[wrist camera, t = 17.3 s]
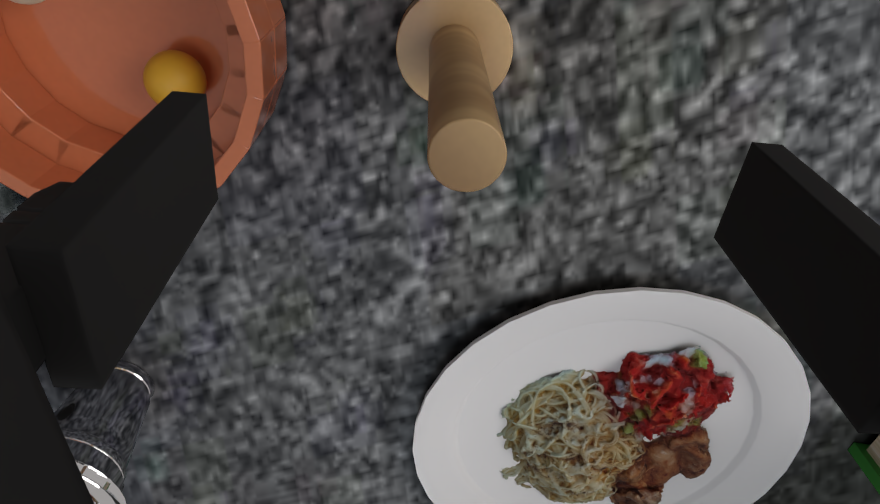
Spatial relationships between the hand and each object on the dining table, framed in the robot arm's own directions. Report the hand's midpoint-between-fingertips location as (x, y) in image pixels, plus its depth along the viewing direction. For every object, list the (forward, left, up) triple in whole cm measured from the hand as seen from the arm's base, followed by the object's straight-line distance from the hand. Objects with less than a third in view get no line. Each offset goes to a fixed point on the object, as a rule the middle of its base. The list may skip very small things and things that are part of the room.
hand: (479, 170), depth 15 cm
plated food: (+30, +15, -20) cm, 39 cm away
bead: (+4, -14, -18) cm, 23 cm away
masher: (+2, 0, -20) cm, 20 cm away
